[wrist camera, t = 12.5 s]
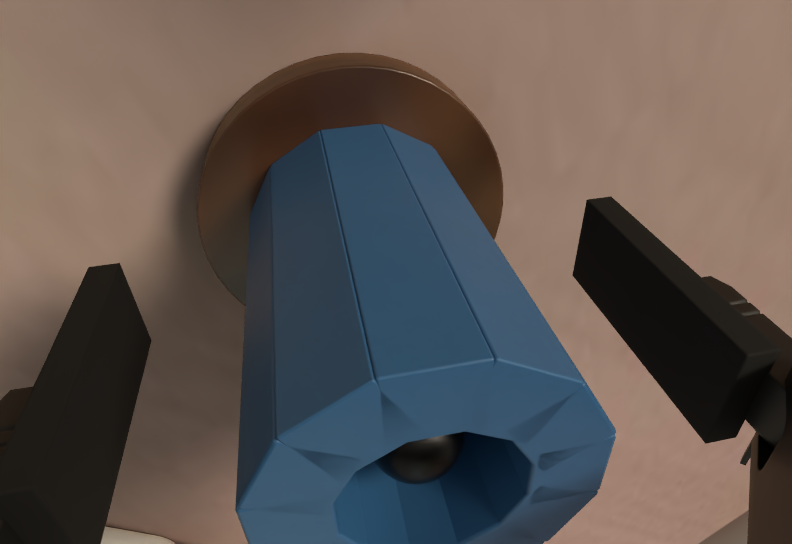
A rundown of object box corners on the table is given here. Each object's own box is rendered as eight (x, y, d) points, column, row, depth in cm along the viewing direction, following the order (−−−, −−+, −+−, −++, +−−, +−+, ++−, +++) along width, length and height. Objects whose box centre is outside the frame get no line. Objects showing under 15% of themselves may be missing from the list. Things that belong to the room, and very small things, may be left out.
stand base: (131, 178, 17) (121, 200, 16) (396, -22, 15) (407, -14, 14) (323, 351, 23) (326, 377, 22) (531, 221, 21) (547, 242, 20)
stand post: (315, 219, 17) (353, 476, 10) (366, 184, 17) (447, 423, 9) (350, 259, 19) (409, 517, 11) (399, 227, 18) (495, 471, 11)
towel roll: (205, 210, 17) (148, 515, 9) (390, 78, 15) (526, 288, 7) (336, 336, 20) (382, 626, 12) (491, 238, 19) (653, 489, 11)
